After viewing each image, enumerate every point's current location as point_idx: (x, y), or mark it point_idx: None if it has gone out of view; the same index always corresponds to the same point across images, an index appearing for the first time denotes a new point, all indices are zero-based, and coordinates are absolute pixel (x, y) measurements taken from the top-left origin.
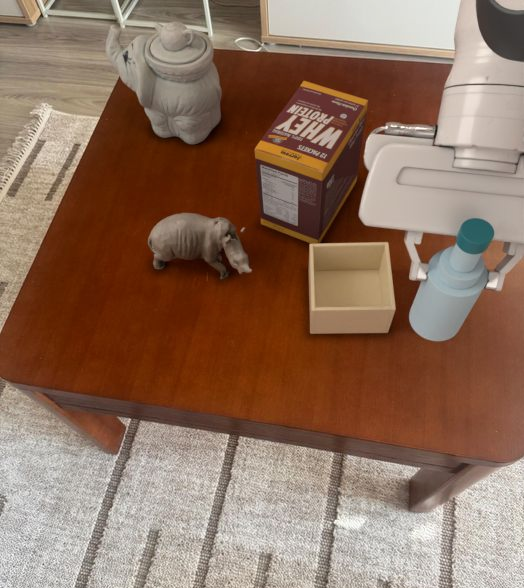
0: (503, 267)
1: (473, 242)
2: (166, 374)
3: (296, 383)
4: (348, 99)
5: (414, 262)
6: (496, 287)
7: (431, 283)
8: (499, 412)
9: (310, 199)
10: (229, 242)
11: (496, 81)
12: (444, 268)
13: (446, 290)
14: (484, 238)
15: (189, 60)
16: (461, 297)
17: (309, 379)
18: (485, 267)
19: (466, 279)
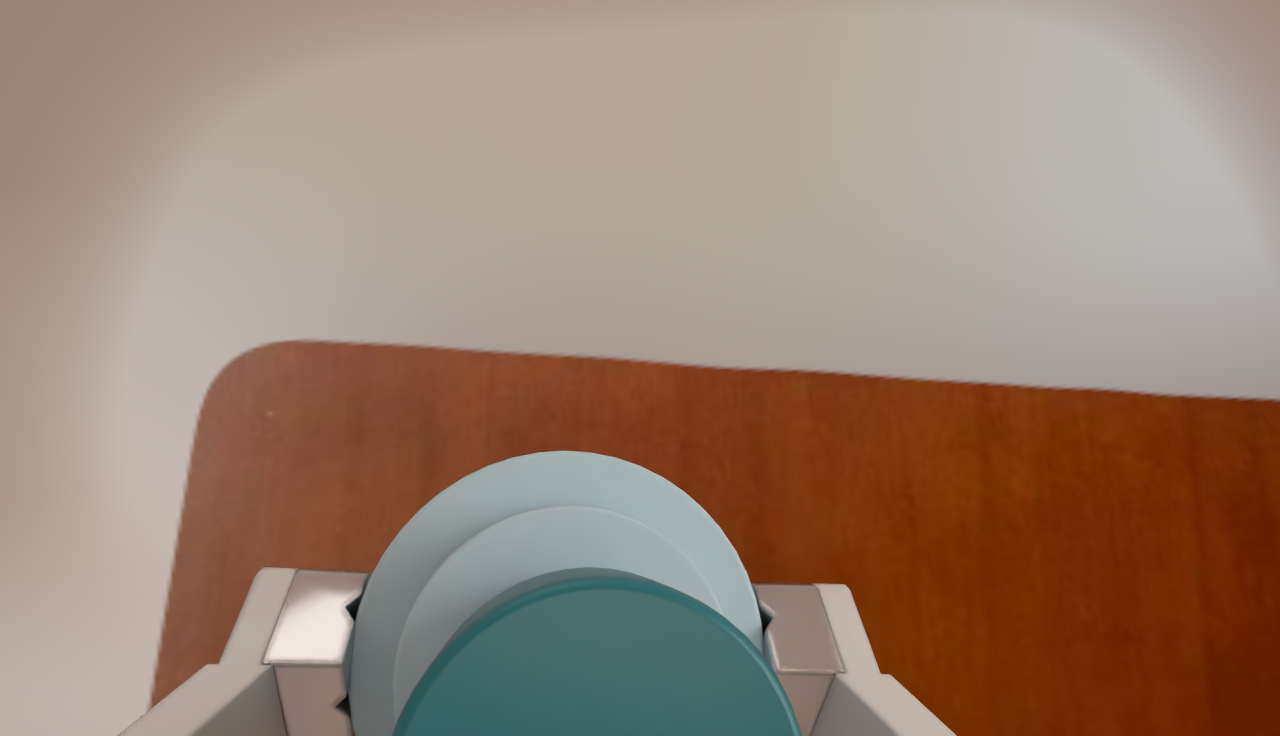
0: (233, 700)
1: (658, 589)
2: (1228, 476)
3: (871, 495)
4: None
5: (877, 670)
6: (294, 576)
7: (729, 544)
8: (251, 477)
9: None
10: None
11: None
12: (700, 600)
13: (640, 487)
14: (520, 672)
15: None
16: (540, 453)
17: (836, 513)
18: (360, 729)
19: (541, 514)
